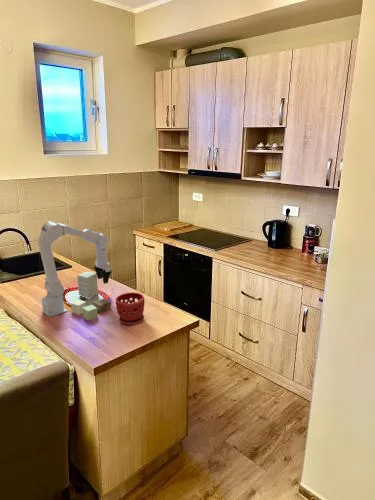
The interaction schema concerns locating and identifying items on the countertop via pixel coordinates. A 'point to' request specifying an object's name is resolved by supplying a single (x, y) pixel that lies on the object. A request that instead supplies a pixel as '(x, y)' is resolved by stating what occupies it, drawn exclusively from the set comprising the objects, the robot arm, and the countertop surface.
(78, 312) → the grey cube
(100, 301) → the walnut block
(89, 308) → the sage cube
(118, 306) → the plant pot
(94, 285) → the supplement box
